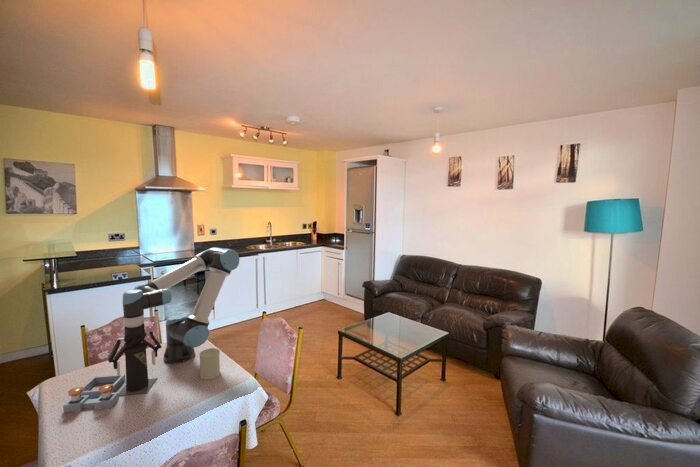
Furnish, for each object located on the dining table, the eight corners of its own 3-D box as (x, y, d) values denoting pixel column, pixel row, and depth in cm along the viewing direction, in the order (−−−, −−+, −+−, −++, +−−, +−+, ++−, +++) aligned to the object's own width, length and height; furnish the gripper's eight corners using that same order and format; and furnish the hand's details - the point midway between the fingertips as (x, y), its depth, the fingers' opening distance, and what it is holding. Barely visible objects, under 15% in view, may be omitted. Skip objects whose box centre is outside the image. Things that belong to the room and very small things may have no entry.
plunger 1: (87, 400, 133) (86, 386, 132) (79, 407, 128) (78, 392, 127) (74, 401, 132) (73, 387, 131) (66, 409, 127) (65, 394, 126)
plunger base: (118, 398, 135) (118, 392, 135) (111, 407, 130) (110, 401, 129) (73, 403, 132) (73, 396, 132) (63, 412, 126) (63, 405, 126)
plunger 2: (116, 397, 135) (115, 383, 134) (110, 404, 130) (109, 390, 129) (103, 399, 134) (102, 384, 133) (96, 406, 129) (96, 391, 128)
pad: (157, 378, 151) (157, 378, 151) (146, 393, 139) (146, 392, 139) (129, 381, 149) (129, 380, 149) (116, 396, 137) (115, 395, 137)
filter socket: (125, 380, 150) (124, 374, 149) (110, 396, 137) (109, 390, 137) (94, 382, 147) (94, 376, 147) (76, 399, 135) (75, 393, 134)
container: (147, 389, 142) (145, 347, 140) (123, 394, 138) (120, 351, 136) (150, 379, 150) (148, 339, 147) (128, 383, 146) (125, 342, 144)
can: (223, 370, 160) (223, 347, 159) (214, 380, 151) (213, 356, 150) (206, 369, 161) (205, 346, 160) (196, 379, 152) (195, 355, 150)
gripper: (162, 315, 153) (164, 357, 155) (97, 329, 135) (100, 376, 137) (167, 319, 148) (169, 362, 150) (100, 335, 130) (104, 383, 132)
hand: (136, 369), depth 143 cm, fingers open, 13 cm apart
